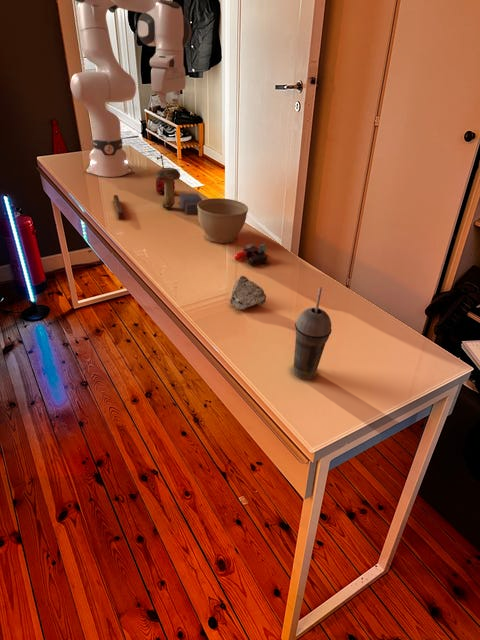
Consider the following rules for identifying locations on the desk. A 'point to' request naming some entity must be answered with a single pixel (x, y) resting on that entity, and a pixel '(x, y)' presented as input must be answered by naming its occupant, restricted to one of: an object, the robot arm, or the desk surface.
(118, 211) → the ledge
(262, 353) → the desk surface
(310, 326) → the beverage cup
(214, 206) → the planter bowl
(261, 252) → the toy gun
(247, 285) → the rock sample
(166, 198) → the mushroom
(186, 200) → the block
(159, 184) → the red clay folk toy
